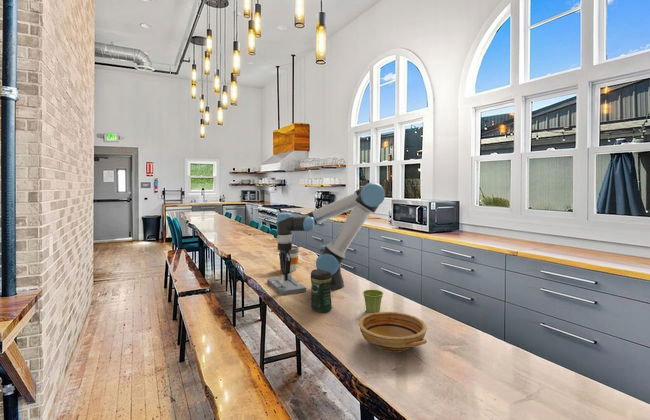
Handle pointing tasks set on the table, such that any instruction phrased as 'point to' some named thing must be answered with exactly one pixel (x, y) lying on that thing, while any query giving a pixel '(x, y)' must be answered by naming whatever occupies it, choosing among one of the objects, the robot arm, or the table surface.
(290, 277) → the fader
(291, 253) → the reusable coffee cup
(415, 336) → the ceramic bowl
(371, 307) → the plant pot
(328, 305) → the coffee jar
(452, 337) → the table surface
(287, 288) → the console
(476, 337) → the table surface
